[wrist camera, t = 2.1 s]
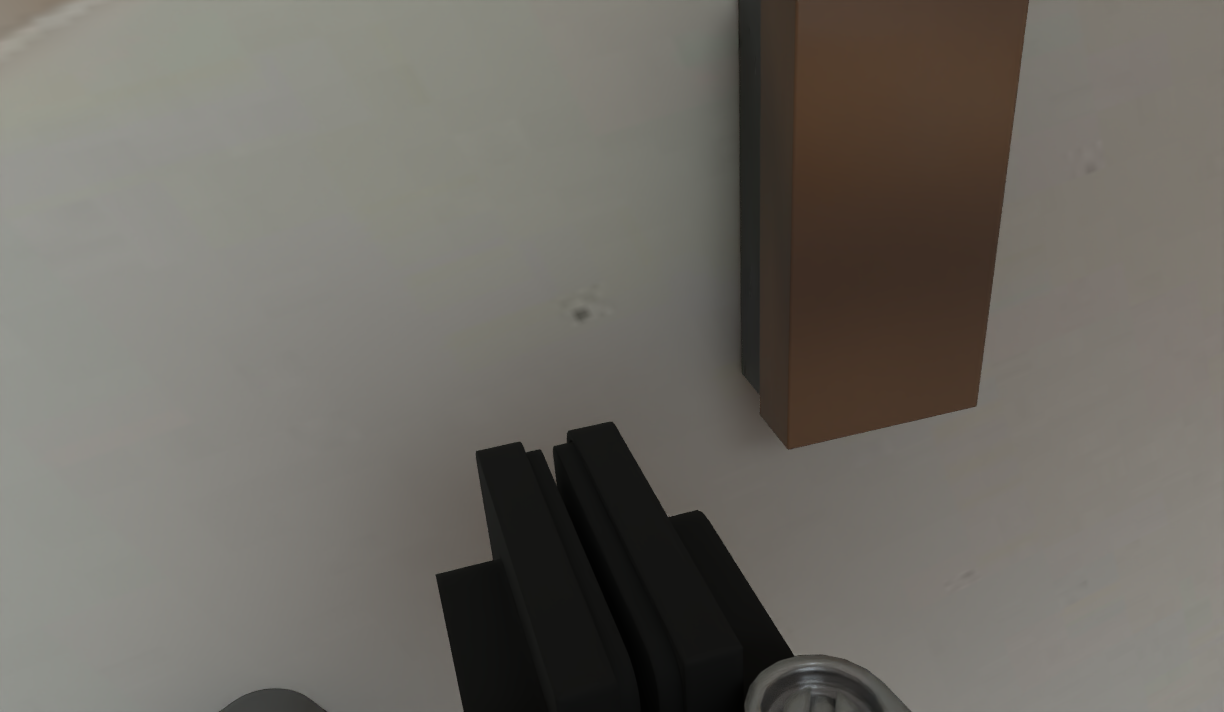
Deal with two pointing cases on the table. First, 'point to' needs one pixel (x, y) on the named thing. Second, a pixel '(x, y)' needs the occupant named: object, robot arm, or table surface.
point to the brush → (871, 205)
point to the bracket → (273, 702)
